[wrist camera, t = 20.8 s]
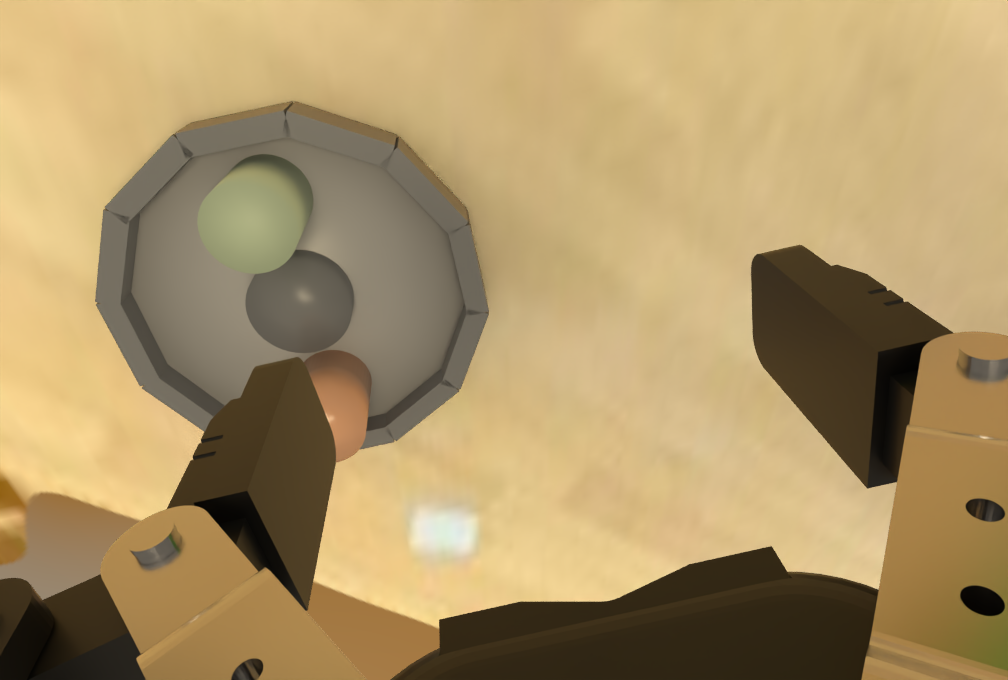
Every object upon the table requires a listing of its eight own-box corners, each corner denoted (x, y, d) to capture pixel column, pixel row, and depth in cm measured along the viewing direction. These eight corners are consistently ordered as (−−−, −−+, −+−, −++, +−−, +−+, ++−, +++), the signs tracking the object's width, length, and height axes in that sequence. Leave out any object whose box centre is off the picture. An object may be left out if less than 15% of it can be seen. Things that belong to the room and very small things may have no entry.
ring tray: (507, 394, 44) (511, 416, 42) (204, 459, 44) (193, 484, 42) (436, 70, 34) (437, 77, 32) (46, 153, 34) (21, 166, 32)
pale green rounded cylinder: (331, 202, 36) (318, 235, 31) (271, 252, 37) (251, 291, 32) (268, 136, 34) (245, 160, 29) (206, 190, 35) (176, 222, 30)
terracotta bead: (387, 384, 41) (382, 433, 37) (334, 423, 42) (324, 476, 38) (335, 336, 40) (324, 381, 35) (281, 378, 40) (264, 428, 36)
